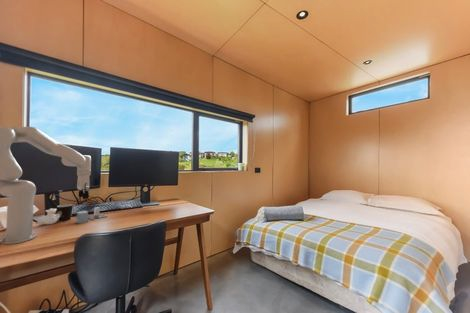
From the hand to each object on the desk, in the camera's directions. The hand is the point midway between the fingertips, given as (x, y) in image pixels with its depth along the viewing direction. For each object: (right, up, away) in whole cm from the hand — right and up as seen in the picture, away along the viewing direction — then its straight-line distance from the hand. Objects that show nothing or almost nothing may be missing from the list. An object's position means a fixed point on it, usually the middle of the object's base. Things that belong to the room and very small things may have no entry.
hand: (83, 197), depth 137 cm
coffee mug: (-17, -16, +3) cm, 24 cm away
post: (+2, -17, +10) cm, 20 cm away
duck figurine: (-18, -16, -6) cm, 25 cm away
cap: (-1, -16, -1) cm, 16 cm away
